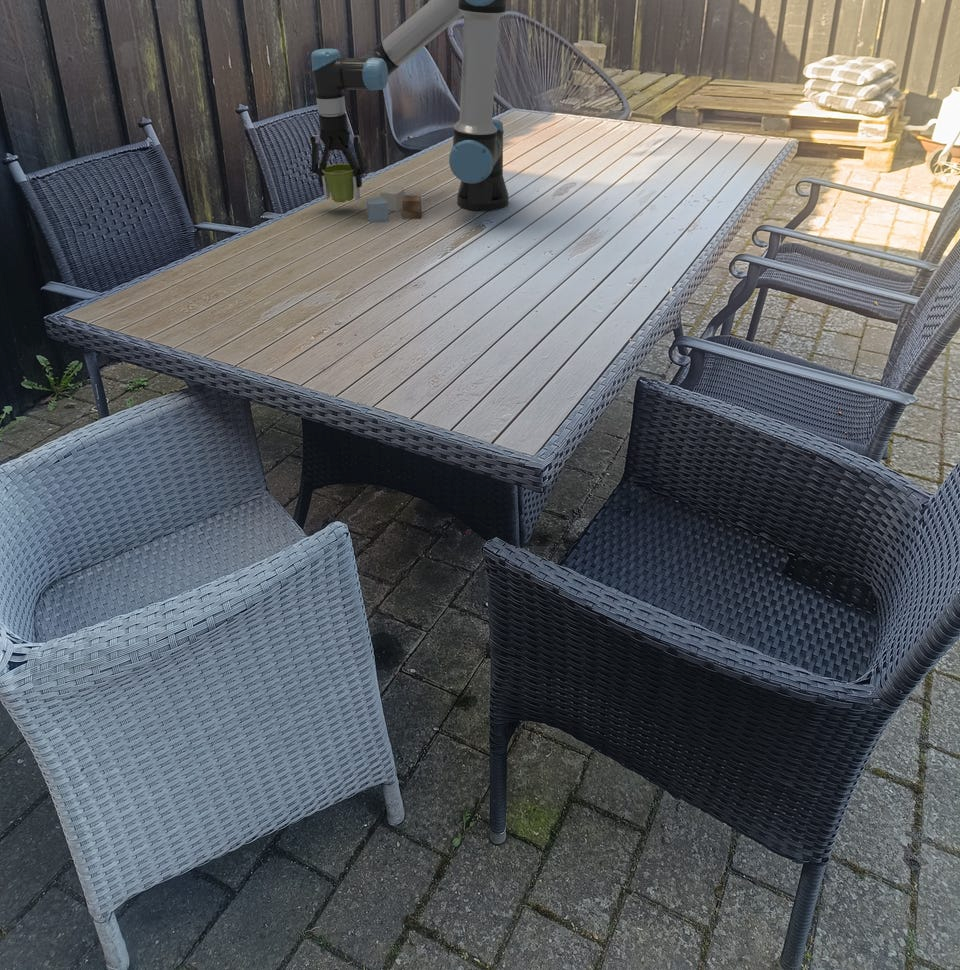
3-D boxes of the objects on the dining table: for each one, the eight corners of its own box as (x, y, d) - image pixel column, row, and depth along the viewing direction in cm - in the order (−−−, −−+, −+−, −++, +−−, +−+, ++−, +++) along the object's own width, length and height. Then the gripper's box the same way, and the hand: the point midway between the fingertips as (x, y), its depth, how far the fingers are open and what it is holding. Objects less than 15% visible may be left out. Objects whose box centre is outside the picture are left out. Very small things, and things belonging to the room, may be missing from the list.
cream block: (405, 206, 246) (404, 189, 243) (397, 211, 242) (395, 194, 239) (390, 204, 247) (389, 187, 245) (381, 209, 244) (380, 192, 241)
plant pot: (353, 205, 236) (349, 173, 231) (321, 204, 238) (317, 172, 233) (363, 195, 243) (360, 164, 238) (332, 194, 245) (328, 163, 240)
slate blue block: (385, 215, 240) (383, 197, 237) (388, 220, 236) (387, 202, 233) (367, 217, 238) (366, 199, 236) (370, 222, 235) (369, 204, 232)
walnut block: (421, 213, 241) (420, 195, 238) (420, 218, 237) (420, 200, 234) (404, 213, 241) (403, 195, 238) (403, 218, 237) (402, 201, 234)
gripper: (373, 110, 229) (381, 195, 242) (299, 110, 232) (311, 193, 245) (366, 116, 223) (374, 203, 236) (290, 116, 226) (303, 201, 239)
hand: (342, 198), depth 240 cm, fingers closed on plant pot, 8 cm apart
